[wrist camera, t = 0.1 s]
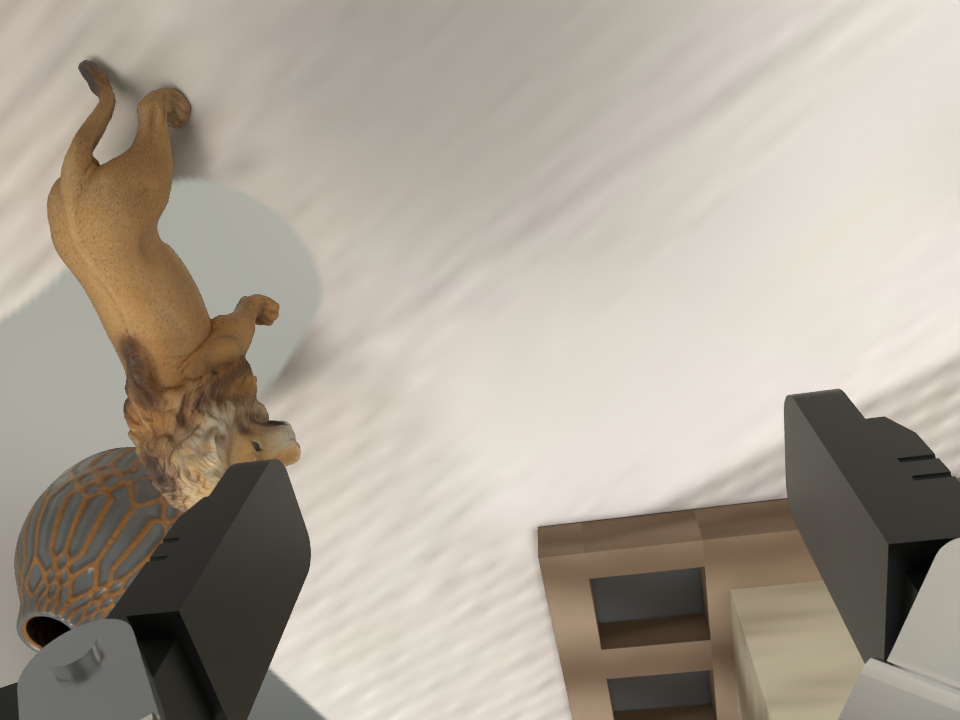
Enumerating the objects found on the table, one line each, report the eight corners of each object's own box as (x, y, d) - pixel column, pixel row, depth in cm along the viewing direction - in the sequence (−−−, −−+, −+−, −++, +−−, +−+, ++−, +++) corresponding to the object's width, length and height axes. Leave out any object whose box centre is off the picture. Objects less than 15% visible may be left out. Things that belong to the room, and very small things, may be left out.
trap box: (538, 527, 35) (538, 558, 33) (1277, 442, 30) (1323, 472, 29) (579, 726, 41) (581, 760, 39) (1195, 678, 37) (1229, 715, 35)
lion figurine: (355, 378, 32) (297, 520, 24) (248, 418, 33) (159, 566, 25) (150, 27, 26) (-20, 60, 18) (29, 93, 27) (-182, 151, 19)
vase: (253, 470, 34) (173, 621, 26) (195, 564, 37) (107, 724, 29) (109, 395, 33) (-21, 532, 25) (60, 499, 36) (-69, 650, 28)
